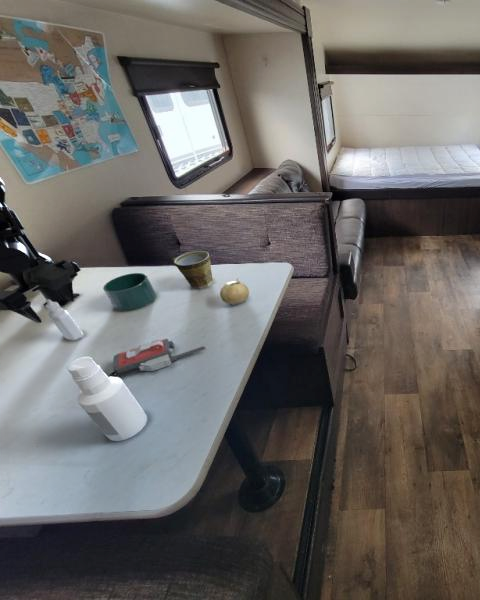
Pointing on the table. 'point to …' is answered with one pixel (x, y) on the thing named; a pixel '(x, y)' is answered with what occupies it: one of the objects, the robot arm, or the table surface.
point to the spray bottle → (107, 400)
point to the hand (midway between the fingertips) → (56, 311)
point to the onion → (234, 292)
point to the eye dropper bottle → (63, 321)
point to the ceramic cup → (195, 268)
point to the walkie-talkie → (147, 358)
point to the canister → (130, 292)
